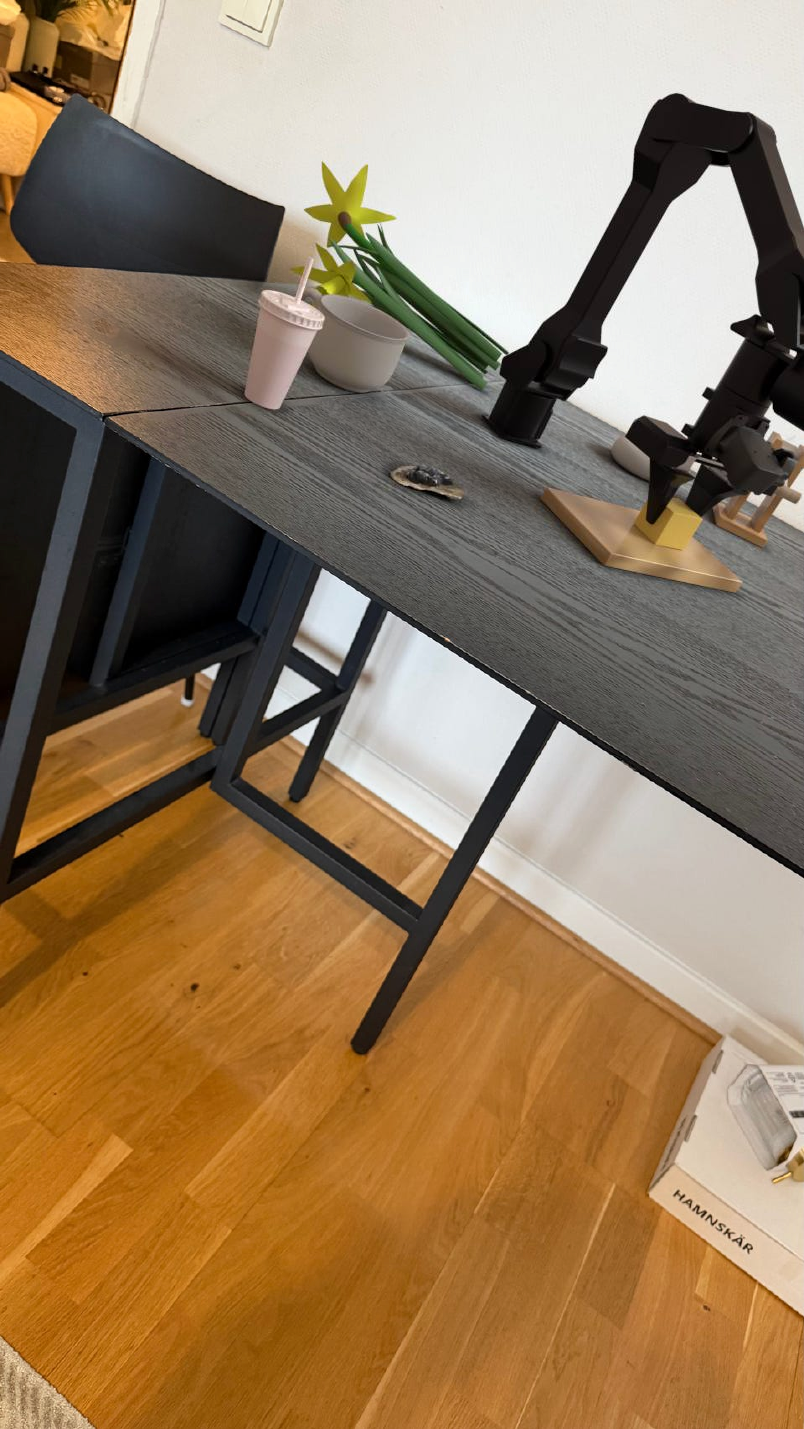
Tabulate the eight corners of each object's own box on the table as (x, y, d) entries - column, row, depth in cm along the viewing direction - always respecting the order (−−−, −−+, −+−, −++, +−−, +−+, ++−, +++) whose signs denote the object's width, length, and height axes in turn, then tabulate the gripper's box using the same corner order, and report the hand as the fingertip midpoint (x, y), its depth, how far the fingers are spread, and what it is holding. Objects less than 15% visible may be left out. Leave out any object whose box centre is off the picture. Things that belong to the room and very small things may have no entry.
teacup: (400, 401, 114) (426, 336, 110) (351, 404, 106) (378, 334, 101) (312, 347, 118) (335, 283, 114) (258, 346, 109) (281, 276, 105)
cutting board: (603, 565, 96) (611, 553, 95) (539, 498, 106) (546, 486, 105) (735, 593, 107) (743, 582, 106) (666, 529, 116) (673, 519, 115)
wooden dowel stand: (762, 548, 128) (821, 462, 121) (716, 525, 127) (771, 437, 121) (756, 530, 134) (811, 447, 128) (712, 508, 134) (764, 424, 128)
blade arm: (792, 509, 120) (804, 494, 118) (757, 491, 120) (768, 476, 118) (795, 465, 127) (806, 451, 125) (762, 449, 127) (773, 434, 125)
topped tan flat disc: (473, 508, 94) (481, 491, 93) (408, 497, 90) (416, 479, 89) (440, 475, 98) (448, 458, 97) (377, 462, 94) (384, 445, 93)
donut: (606, 465, 130) (672, 495, 131) (618, 442, 129) (685, 473, 129) (606, 447, 139) (668, 476, 139) (618, 425, 137) (680, 454, 137)
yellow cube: (654, 544, 104) (673, 512, 102) (633, 523, 107) (651, 492, 105) (683, 550, 106) (703, 519, 104) (662, 529, 109) (680, 499, 107)
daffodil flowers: (476, 410, 129) (263, 231, 119) (443, 430, 143) (251, 271, 133) (545, 311, 130) (339, 125, 120) (506, 340, 144) (319, 176, 134)
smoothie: (302, 410, 97) (351, 272, 90) (276, 420, 92) (326, 274, 85) (248, 381, 98) (292, 242, 91) (219, 390, 92) (264, 242, 85)
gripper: (730, 405, 87) (642, 550, 95) (852, 449, 97) (763, 578, 105) (663, 358, 95) (587, 497, 103) (783, 404, 104) (705, 527, 113)
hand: (664, 526), depth 106 cm, fingers closed on yellow cube, 4 cm apart
